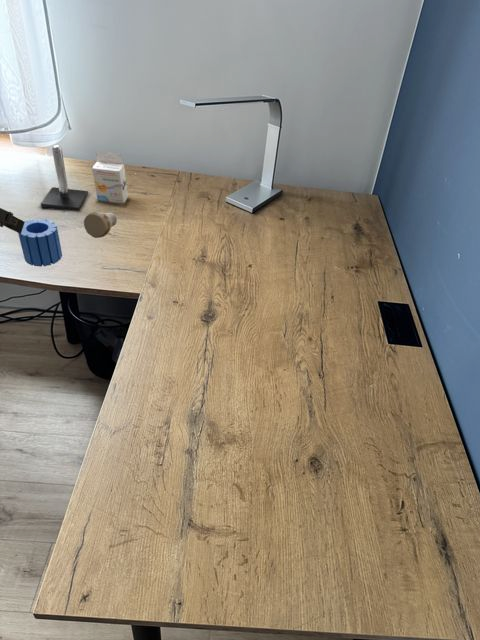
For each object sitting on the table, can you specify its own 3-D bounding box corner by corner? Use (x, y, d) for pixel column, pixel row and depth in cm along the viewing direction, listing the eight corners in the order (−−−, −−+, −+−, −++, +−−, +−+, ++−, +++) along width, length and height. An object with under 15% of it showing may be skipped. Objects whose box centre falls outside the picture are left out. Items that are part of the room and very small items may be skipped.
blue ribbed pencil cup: (20, 269, 128) (11, 235, 121) (32, 250, 134) (25, 217, 128) (56, 273, 129) (50, 239, 122) (67, 254, 135) (61, 220, 128)
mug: (125, 224, 149) (118, 207, 139) (106, 250, 146) (98, 234, 137) (103, 212, 149) (95, 194, 140) (84, 238, 147) (75, 221, 137)
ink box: (97, 203, 157) (89, 157, 146) (102, 196, 160) (94, 150, 150) (124, 206, 157) (117, 161, 146) (129, 198, 160) (122, 153, 150)
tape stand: (41, 208, 151) (30, 150, 139) (53, 191, 159) (42, 136, 147) (78, 212, 152) (70, 155, 140) (88, 195, 160) (81, 140, 148)
